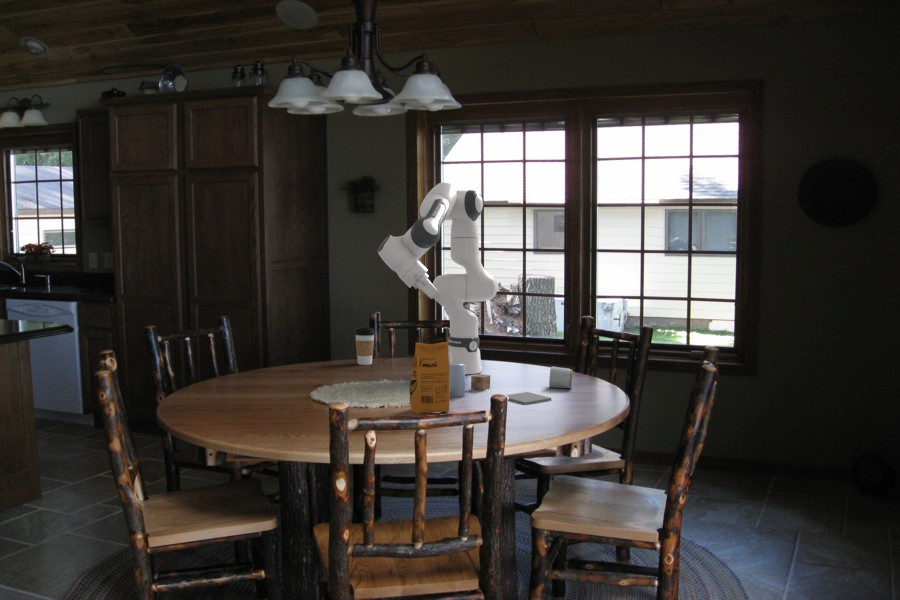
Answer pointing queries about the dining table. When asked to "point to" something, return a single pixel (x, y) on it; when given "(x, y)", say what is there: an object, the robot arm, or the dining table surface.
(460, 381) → the blue-grey tall cylinder
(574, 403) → the dining table surface
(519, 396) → the pad
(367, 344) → the coffee cup
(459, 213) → the robot arm
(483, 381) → the walnut block
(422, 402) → the coffee package
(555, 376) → the grey rounded block
